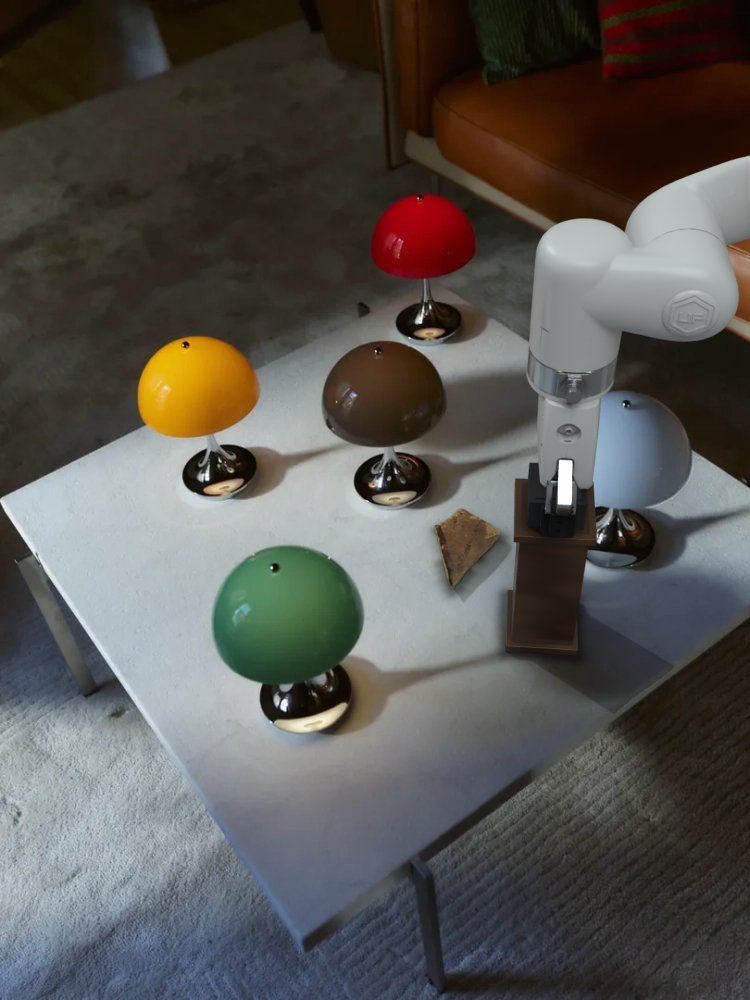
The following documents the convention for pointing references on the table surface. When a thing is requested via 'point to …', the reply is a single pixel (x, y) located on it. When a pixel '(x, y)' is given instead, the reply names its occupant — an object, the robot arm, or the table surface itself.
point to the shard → (463, 543)
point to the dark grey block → (538, 497)
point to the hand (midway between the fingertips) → (555, 499)
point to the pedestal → (546, 583)
